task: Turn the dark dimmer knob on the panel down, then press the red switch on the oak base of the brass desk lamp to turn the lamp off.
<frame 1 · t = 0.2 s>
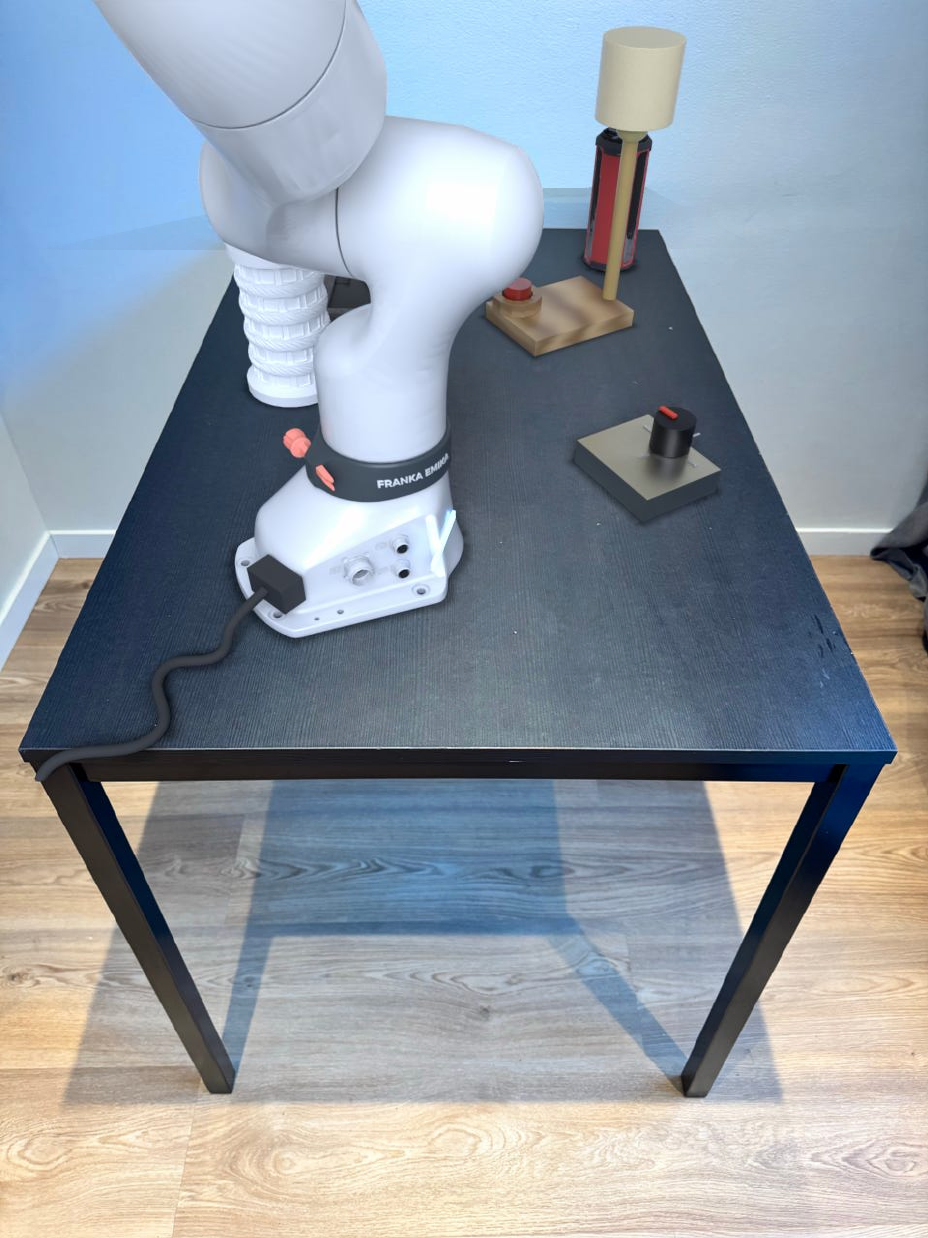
lamp base: (558, 321, 120), on the table
dimmer: (643, 477, 96), on the table
lamp: (605, 325, 119), resting on lamp base
picture frame: (380, 291, 125), on the table, touching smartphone
speaker: (607, 263, 132), on the table
dimmer knob: (672, 430, 93), point 5 cm above the table, hinge at 95.0°
lamp switch: (517, 289, 116), point 4 cm above the table, slide at 0.1 cm
decorative container: (296, 382, 109), on the table
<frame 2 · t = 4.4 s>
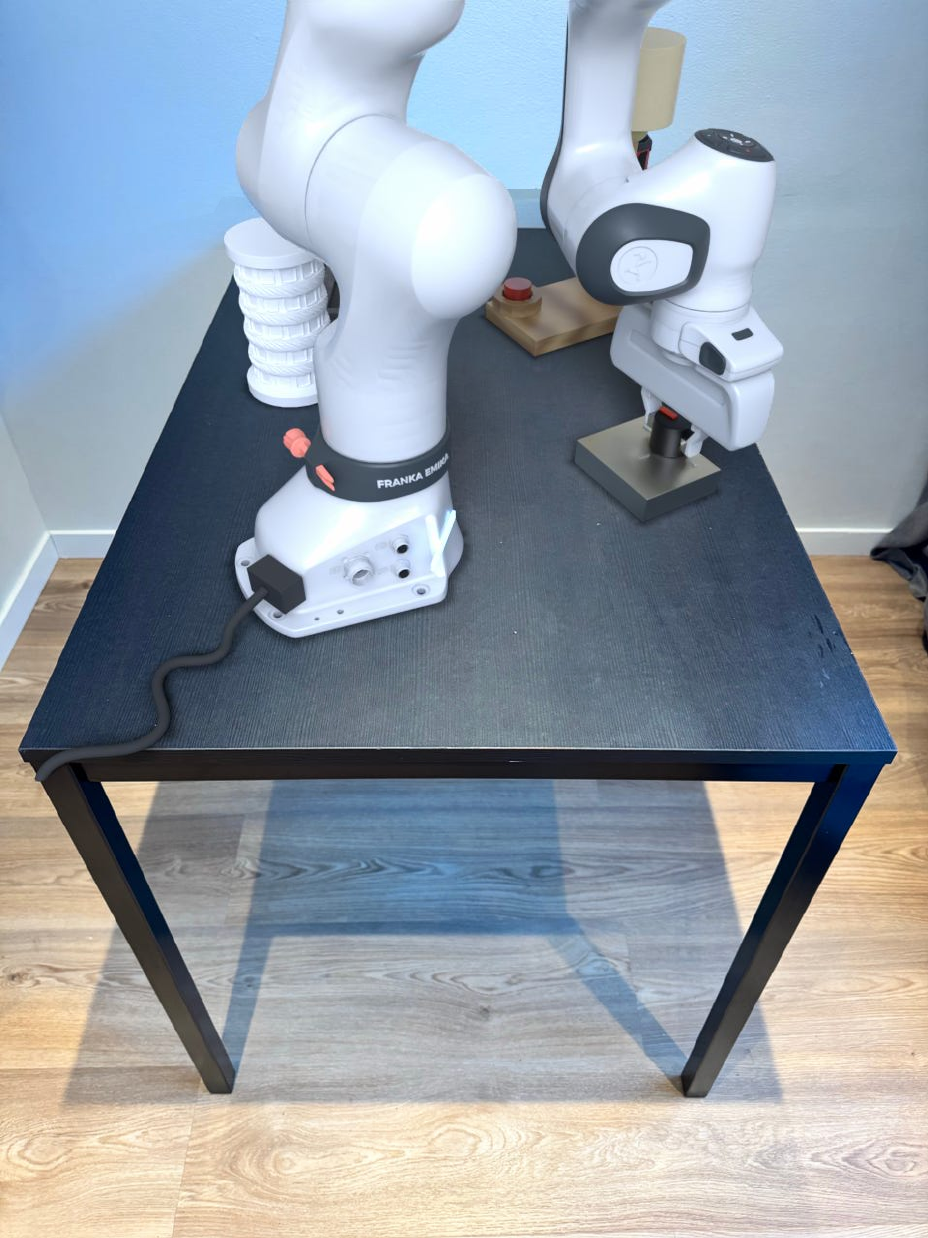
hand: (671, 439, 94), 4 cm above the table, tool pointing down, fingers closed on dimmer knob, 4 cm apart
dimmer knob: (672, 430, 93), point 5 cm above the table, hinge at 95.0°, touching gripper
everything else where it was.
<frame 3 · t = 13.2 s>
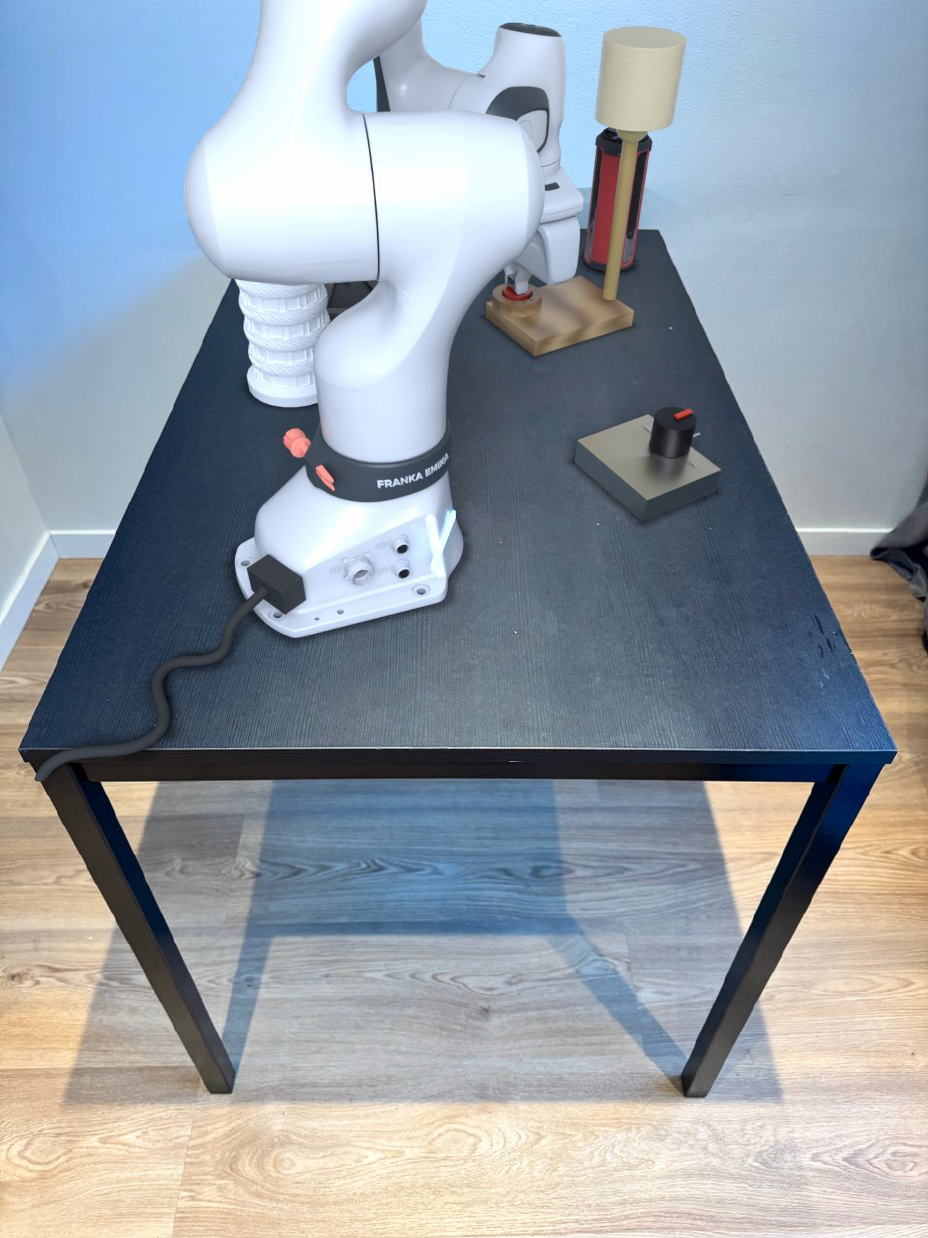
hand: (516, 289, 116), 4 cm above the table, tool pointing down, fingers closed, pressing on lamp switch
dimmer knob: (672, 430, 93), point 5 cm above the table, hinge at 2.0°
lamp switch: (517, 296, 117), point 4 cm above the table, slide at -0.8 cm, touching gripper
everything else where it was.
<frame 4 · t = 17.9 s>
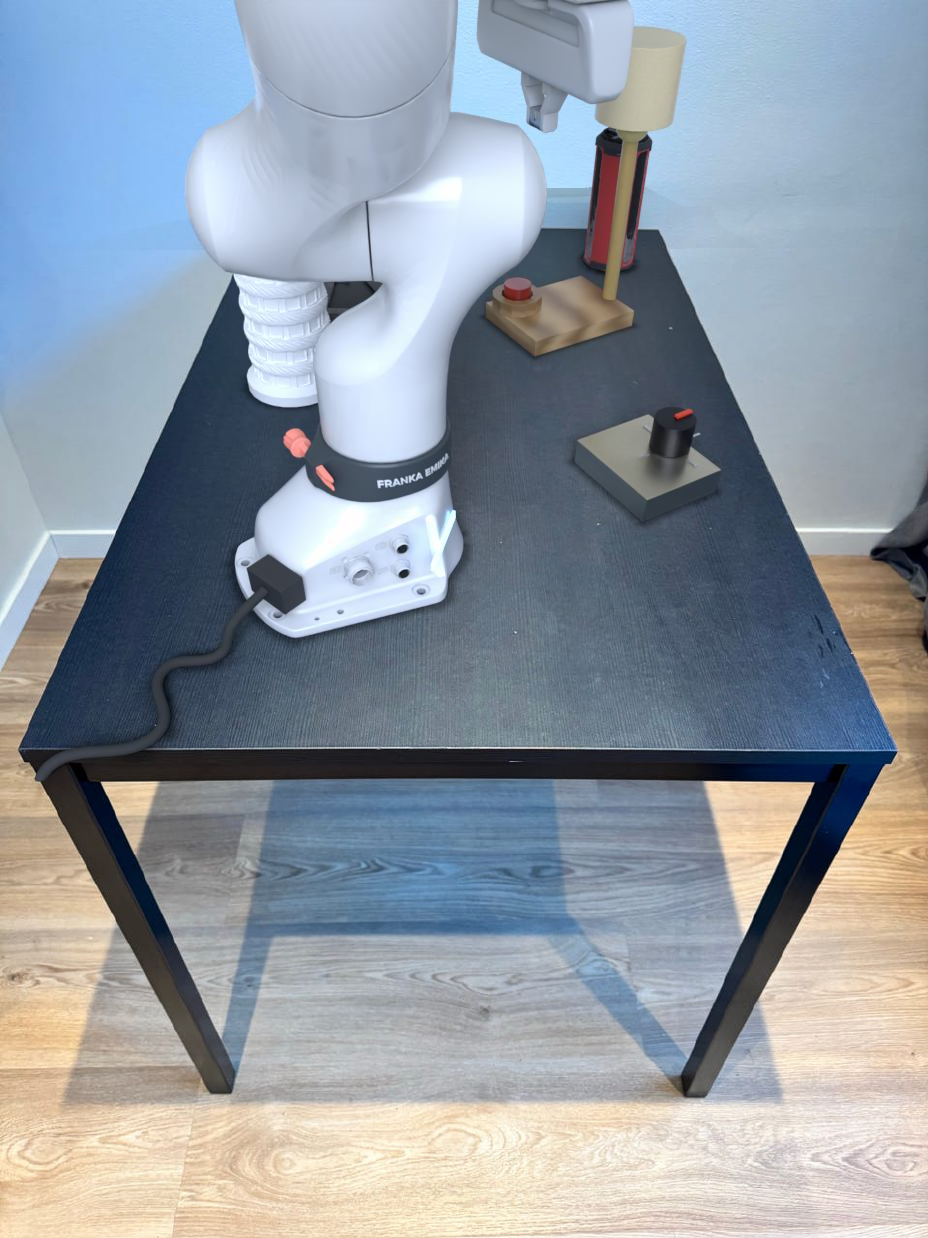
hand: (541, 127, 87), 29 cm above the table, tool pointing down, fingers closed
lamp switch: (517, 289, 116), point 4 cm above the table, slide at 0.1 cm
everything else where it was.
at the end: dimmer knob at +2° (first picture: +95°); lamp switch pushed in 1.1 cm at the most during the clip, back to where it started at the end; lamp switch slide at 0.1 cm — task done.
